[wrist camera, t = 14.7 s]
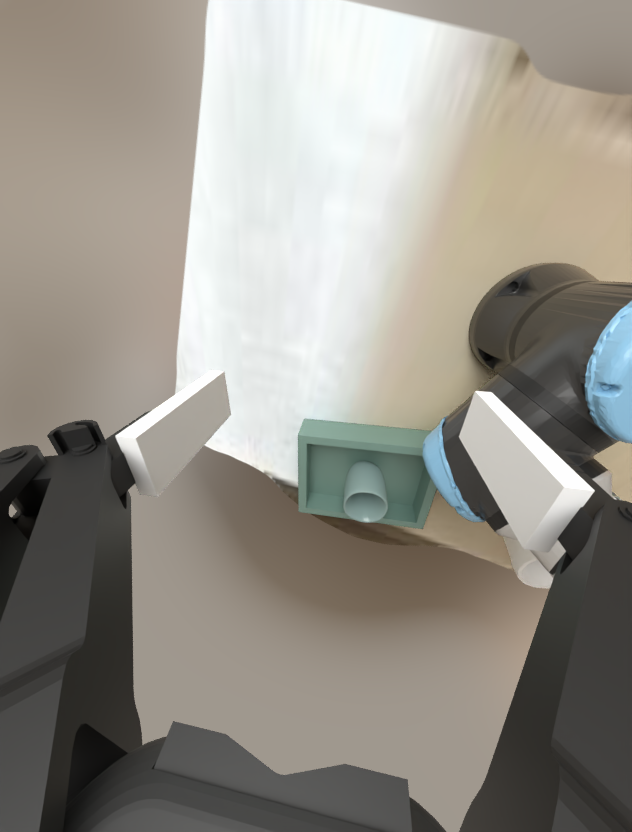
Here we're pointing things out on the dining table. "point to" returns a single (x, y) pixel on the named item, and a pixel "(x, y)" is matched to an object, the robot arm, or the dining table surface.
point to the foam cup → (527, 565)
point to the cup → (365, 492)
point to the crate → (349, 443)
